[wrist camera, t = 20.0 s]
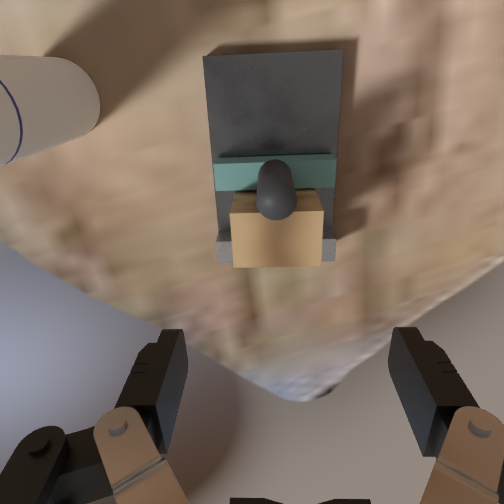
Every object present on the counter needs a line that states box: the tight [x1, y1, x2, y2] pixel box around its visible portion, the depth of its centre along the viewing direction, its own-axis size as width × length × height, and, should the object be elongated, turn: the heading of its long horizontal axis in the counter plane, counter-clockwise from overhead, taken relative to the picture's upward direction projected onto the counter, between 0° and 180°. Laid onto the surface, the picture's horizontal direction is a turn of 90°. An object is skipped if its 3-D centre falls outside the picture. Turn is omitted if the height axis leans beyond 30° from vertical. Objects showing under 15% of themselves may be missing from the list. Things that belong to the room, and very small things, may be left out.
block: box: [230, 188, 324, 268], centre depth 34 cm, size 8×5×8 cm, turn 92°
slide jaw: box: [213, 154, 337, 220], centre depth 31 cm, size 11×3×10 cm, turn 92°
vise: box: [203, 49, 344, 264], centre depth 35 cm, size 12×19×4 cm, turn 2°
